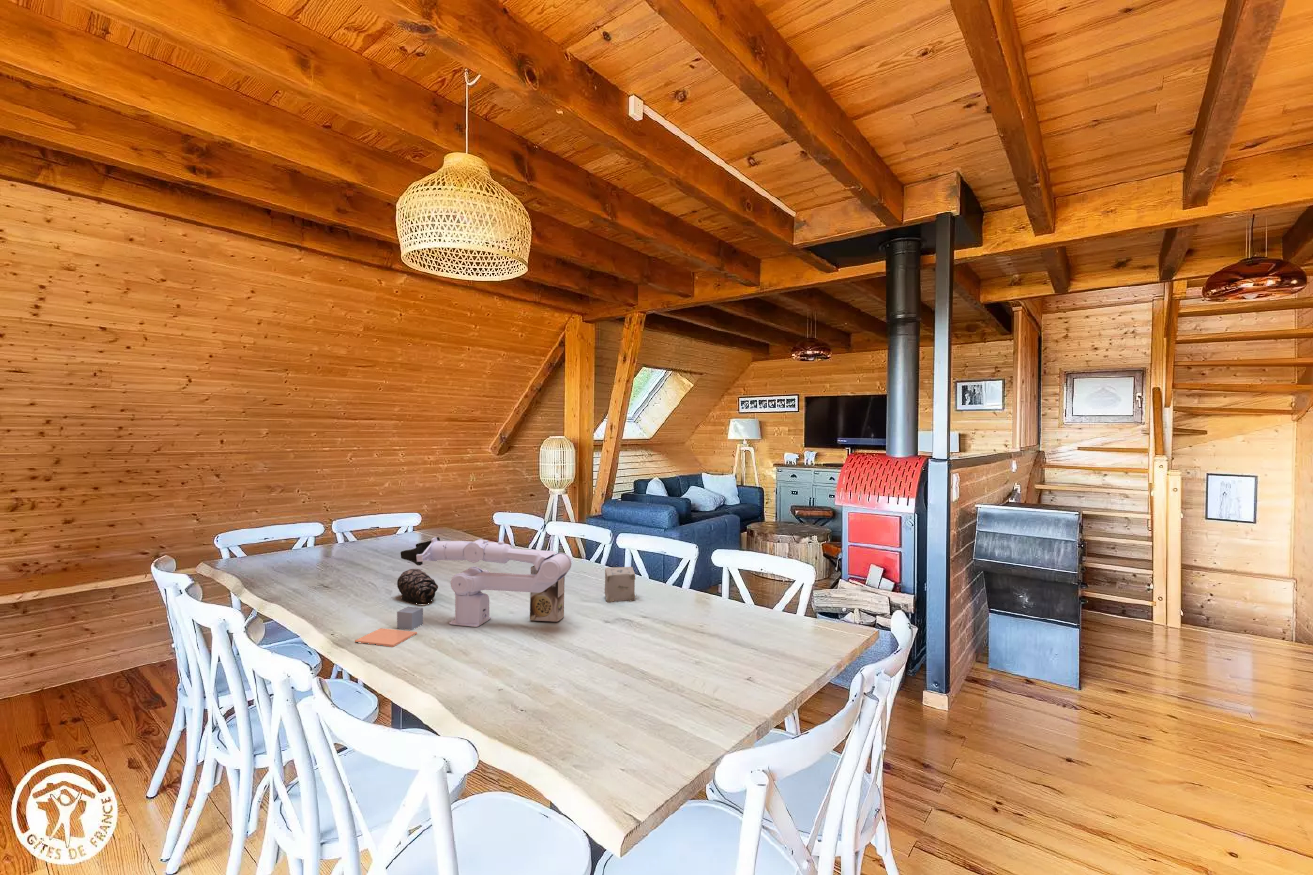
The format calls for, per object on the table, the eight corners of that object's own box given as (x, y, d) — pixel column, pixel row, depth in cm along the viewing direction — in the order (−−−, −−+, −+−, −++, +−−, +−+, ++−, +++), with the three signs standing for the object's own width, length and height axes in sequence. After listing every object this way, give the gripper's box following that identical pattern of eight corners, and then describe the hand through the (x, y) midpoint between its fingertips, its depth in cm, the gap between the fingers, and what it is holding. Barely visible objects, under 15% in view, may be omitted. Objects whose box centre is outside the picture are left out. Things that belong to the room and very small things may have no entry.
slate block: (422, 624, 173) (422, 607, 173) (412, 630, 168) (412, 613, 168) (408, 623, 174) (408, 606, 174) (397, 628, 170) (397, 611, 169)
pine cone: (422, 608, 189) (422, 577, 188) (390, 598, 199) (390, 569, 198) (449, 600, 197) (449, 571, 197) (418, 591, 207) (418, 563, 207)
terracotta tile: (417, 634, 165) (417, 631, 165) (393, 647, 155) (393, 644, 155) (380, 630, 168) (380, 628, 168) (354, 642, 158) (354, 640, 158)
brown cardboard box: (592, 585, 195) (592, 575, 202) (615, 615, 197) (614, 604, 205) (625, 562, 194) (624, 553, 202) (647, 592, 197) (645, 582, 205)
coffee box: (564, 617, 181) (566, 564, 182) (557, 622, 174) (559, 567, 175) (536, 615, 182) (538, 562, 183) (528, 620, 176) (530, 566, 177)
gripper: (460, 531, 183) (421, 531, 186) (434, 544, 169) (392, 545, 172) (462, 553, 184) (424, 553, 187) (437, 568, 170) (395, 568, 172)
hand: (409, 551), depth 179 cm, fingers open, 7 cm apart
